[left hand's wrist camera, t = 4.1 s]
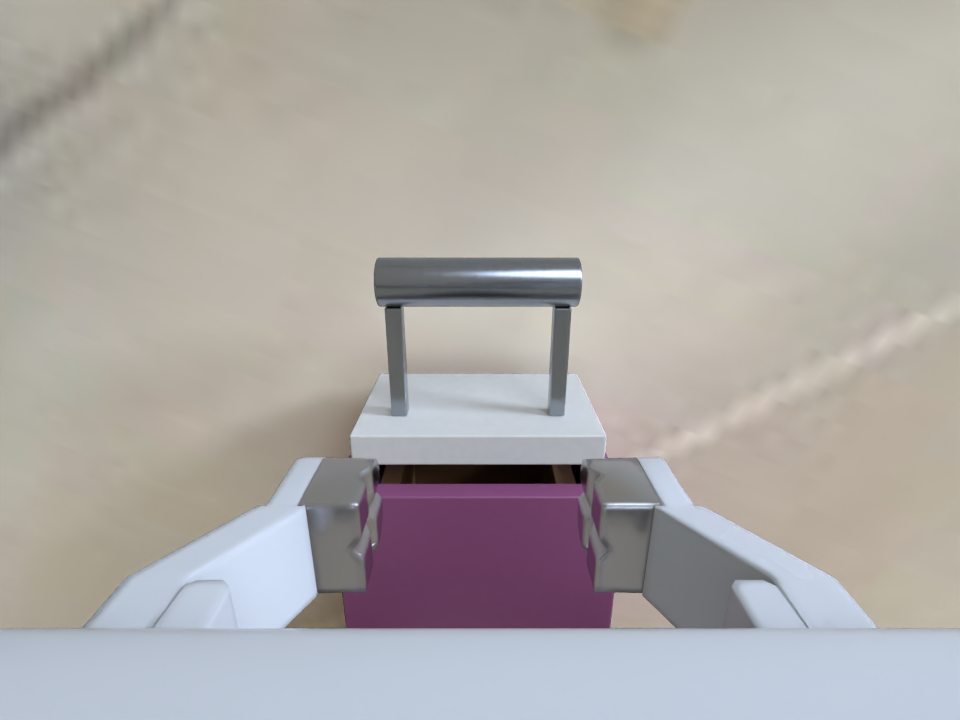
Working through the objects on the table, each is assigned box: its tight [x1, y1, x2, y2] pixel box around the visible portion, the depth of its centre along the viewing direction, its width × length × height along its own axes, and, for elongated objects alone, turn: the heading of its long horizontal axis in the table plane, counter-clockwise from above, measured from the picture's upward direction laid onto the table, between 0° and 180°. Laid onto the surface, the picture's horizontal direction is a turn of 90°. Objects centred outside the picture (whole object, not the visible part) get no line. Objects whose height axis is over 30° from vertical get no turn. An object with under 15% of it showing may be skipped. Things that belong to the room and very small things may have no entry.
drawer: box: [350, 258, 607, 484], centre depth 23 cm, size 21×9×6 cm, turn 0°
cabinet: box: [342, 453, 614, 628], centre depth 24 cm, size 16×10×8 cm, turn 0°
